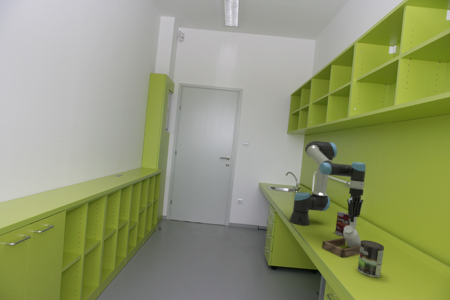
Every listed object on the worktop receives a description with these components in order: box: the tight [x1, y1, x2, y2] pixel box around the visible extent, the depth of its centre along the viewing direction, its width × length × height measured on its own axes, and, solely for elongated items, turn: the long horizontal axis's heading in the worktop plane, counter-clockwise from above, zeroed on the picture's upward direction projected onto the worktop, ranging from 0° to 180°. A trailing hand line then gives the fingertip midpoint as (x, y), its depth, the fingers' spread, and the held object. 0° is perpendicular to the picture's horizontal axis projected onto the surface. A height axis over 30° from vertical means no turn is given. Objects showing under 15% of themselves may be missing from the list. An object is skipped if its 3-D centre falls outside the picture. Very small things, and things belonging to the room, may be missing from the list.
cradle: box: [321, 237, 360, 259], centre depth 159 cm, size 14×20×4 cm
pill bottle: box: [343, 225, 362, 248], centre depth 162 cm, size 8×8×15 cm
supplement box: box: [334, 211, 351, 238], centre depth 188 cm, size 9×5×16 cm, turn 40°
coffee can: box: [357, 239, 385, 278], centre depth 133 cm, size 10×10×14 cm
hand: (352, 227), depth 161 cm, fingers closed
